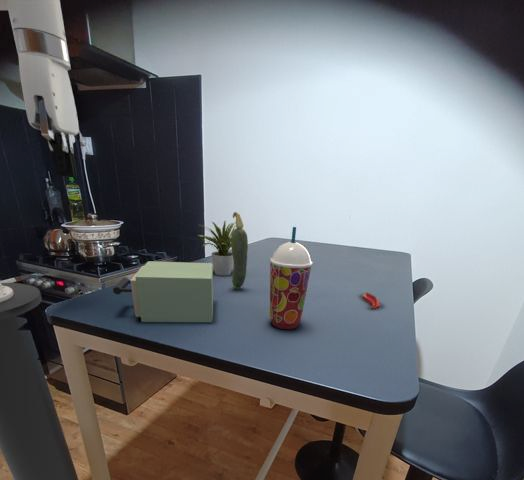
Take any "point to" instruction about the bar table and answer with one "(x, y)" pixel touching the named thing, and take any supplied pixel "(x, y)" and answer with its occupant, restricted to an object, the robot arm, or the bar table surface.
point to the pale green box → (175, 292)
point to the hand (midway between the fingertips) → (67, 175)
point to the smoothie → (288, 283)
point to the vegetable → (239, 252)
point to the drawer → (121, 288)
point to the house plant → (221, 249)
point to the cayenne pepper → (371, 300)
